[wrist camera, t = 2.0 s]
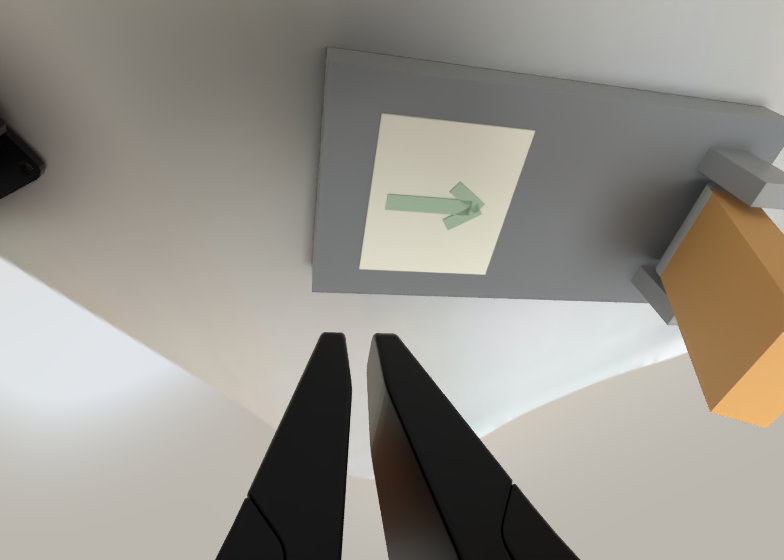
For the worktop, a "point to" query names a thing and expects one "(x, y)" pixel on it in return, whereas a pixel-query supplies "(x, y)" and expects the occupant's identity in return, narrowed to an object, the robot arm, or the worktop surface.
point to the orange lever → (730, 304)
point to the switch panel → (518, 180)
